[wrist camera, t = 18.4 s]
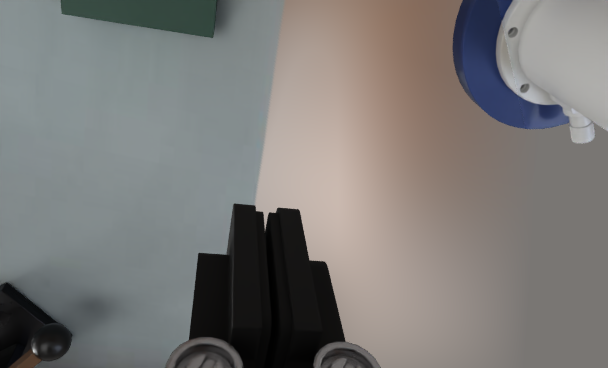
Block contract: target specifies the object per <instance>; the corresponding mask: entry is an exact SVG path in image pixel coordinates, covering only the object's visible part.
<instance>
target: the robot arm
mask: <svg viewBox="0 0 608 368" xmlns="http://www.w3.org/2000/svg"><path fill="white" fill-rule="evenodd" d="M509 30H510V31H509ZM508 31H509V32H508ZM496 60H497V67H498V69H499V72H500V75H501V78H502V79H503V81H504V82H505V84H506V85H507V86H508V87H509V88H510V89H511V90H512V91H513V92H514V93H515V94H517V95H518V96H520V97H521V98H523V99H524V100H527V101H530V102H532V103H535V104H542V105H555V104H559V105H560V106H562V108H563V113H564V114H565V115H566V116H569V127H570V133H571V140H572V141H573V142H574V143H579V144H581V143H587V142H590V141H592V140H593V139H594V137H595V132H594V125H593V122H594V123H596V124H597V125H599V126H600V127H602V128H604V129H606V130H607V131H608V0H513V1H512V3H511V5H510V6H509V8H508V9H507V11H506V13H505V16H504V18H503V20H502V23H501V25H500V29H499V33H498V37H497V42H496ZM165 368H381V367H380V365H379V364H378V362H377V361H376V359H375V358H374V357H373V356H372V355H371V354H370V353H369V352H368V351H366V350H365V349H363V348H361V347H360V346H358V345H355V344H352V343H348V342H345V338H344V333H343V329H342V325H341V321H340V316H339V312H338V308H337V304H336V300H335V295H334V291H333V287H332V283H331V279H330V275H329V270H328V267H327V264H326V263H325V262H323V261H309V256H308V252H307V246H306V241H305V236H304V231H303V225H302V220H301V215H300V211H299V210H298V209H288V208H277V211H276V213H269V215H268V219H267V224H266V230H265V228H264V215H263V212H258V211H256V207H255V205H244V204H234V205H233V211H232V218H231V226H230V233H229V240H228V248H227V255H222V254H207V253H199V254H198V262H197V272H196V281H195V290H194V299H193V308H192V317H191V326H190V335H189V340H188V341H186V342H184V343H182V344H180V345H179V346H178V347H177V348H176V349H175V350H174V351H173V352H172V353H171V355H170V357H169V359H168V361H167V363H166V366H165Z"/></svg>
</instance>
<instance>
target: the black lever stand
mask: <svg viewBox="0 0 608 368" xmlns="http://www.w3.org/2000/svg"><path fill="white" fill-rule="evenodd" d="M51 323H57V322H56V321H54V320H53V319H52V318H51V317H49V316H48V315H47V314H46V313H44V312H43V311H42V310H41V309H39V308H38V307H37V306H36V305H34V304H33V303H32V302H31V301H29V300H28V299H27V298H26V297H24V296H23V295H22V294H21V293H19V292H18V291H17V290H16V289H14V288H13V287H12V286H10V285H9V284H8V283H5V284H3V285H1V286H0V368H9V367H10V366H11V365H12V364H13V363H15V362H16V361H17V360H18V359H19V358H21V357H22V356H23V355H24V354H25V353H27V352H28V351H29V350H30V349H31V340H32V338H33V335H34V334H35V333H36V331H37V330H38V329H40V328H41V327H43V326H44V325H47V324H51ZM57 324H58V323H57ZM70 334H71V333H70ZM71 337H72V334H71Z"/></svg>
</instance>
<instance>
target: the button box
mask: <svg viewBox="0 0 608 368" xmlns="http://www.w3.org/2000/svg"><path fill="white" fill-rule="evenodd" d="M216 7H217V0H61V10H62V14H65V15H72V16H78V17H84V18H91V19H97V20H103V21H110V22H116V23H122V24H128V25H135V26H141V27H147V28H154V29H160V30H166V31H172V32H179V33H185V34H191V35H198V36H204V37H210V38H213V35H214V29H215V18H216Z"/></svg>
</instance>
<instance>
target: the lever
mask: <svg viewBox="0 0 608 368" xmlns="http://www.w3.org/2000/svg"><path fill="white" fill-rule="evenodd" d="M71 341H72V338H71V334H70V331H69V330H68V329H67V328H66V327H65V326H63V325H61V324H57V323H51V324H47V325H44V326H43V327H41V328H40V329H38V330H37V331H36V333H35V334H34V335H33V338H32V340H31V349H30V350H29V351H28V352H27V353H25V354H24V355H23V356H22V357H21V358H19V359H18V360H17V361H16V362H15V363H13V364H12V365H11V366H10V367H9V368H33V367H35V366H36V365H37V364H38V363H39V362H41V361H42V360H43V361H53V360H56V359H59V358H60V357H62V356H63V355H64V354H65V353H66V352H67V351H68V350H69V348H70V345H71Z"/></svg>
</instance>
